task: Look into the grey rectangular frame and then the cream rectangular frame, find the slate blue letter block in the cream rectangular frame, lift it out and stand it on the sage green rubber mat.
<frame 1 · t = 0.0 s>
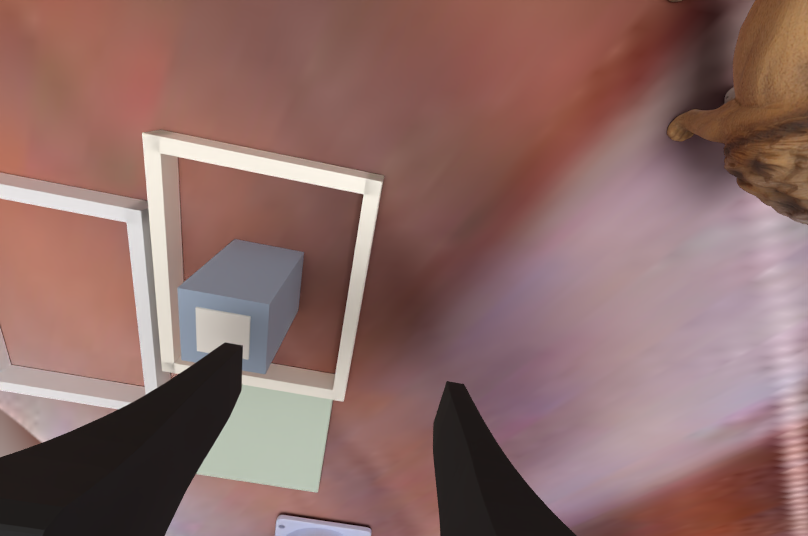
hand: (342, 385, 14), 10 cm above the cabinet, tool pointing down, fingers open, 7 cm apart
cream rectangular frame: (267, 276, 23), on the cabinet
green mat: (258, 430, 29), on the cabinet
grey rectangular frame: (71, 296, 24), on the cabinet
slate block: (248, 301, 21), in the cream rectangular frame
lion figurine: (718, 49, 18), on the cabinet
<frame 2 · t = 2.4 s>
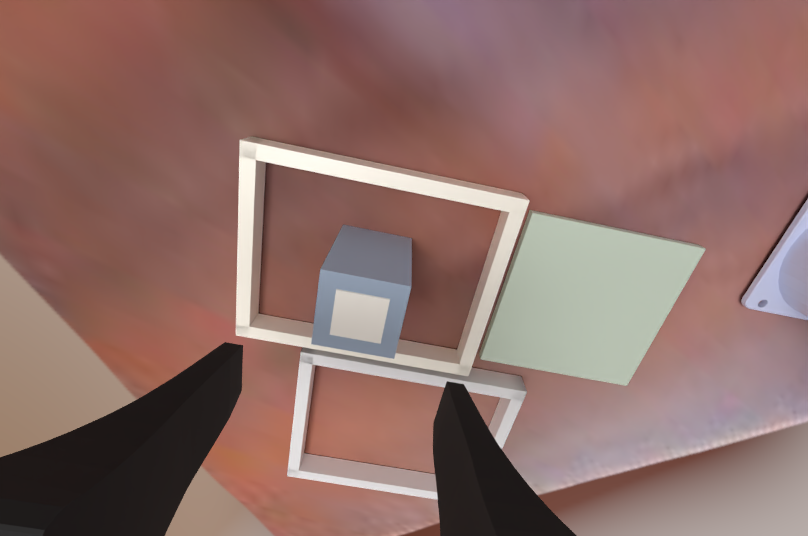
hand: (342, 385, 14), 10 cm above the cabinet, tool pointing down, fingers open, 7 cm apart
cream rectangular frame: (371, 262, 23), on the cabinet
green mat: (580, 303, 24), on the cabinet
grey rectangular frame: (399, 420, 28), on the cabinet
slate block: (366, 286, 20), in the cream rectangular frame
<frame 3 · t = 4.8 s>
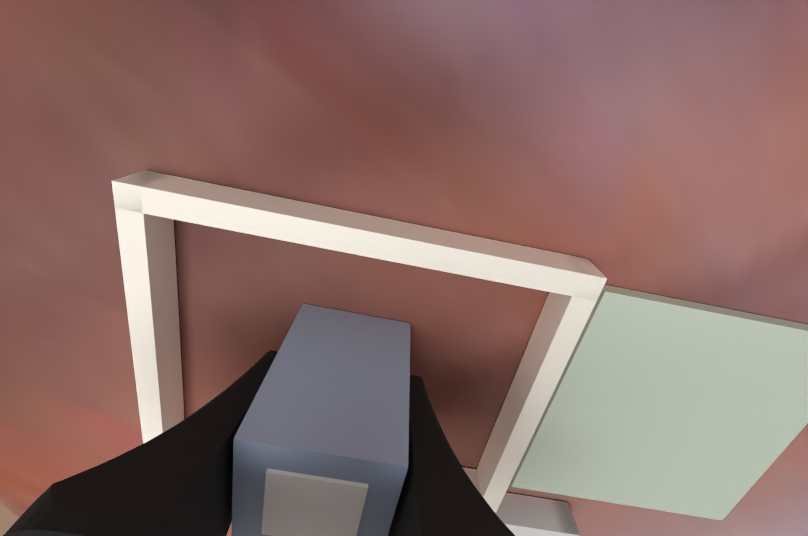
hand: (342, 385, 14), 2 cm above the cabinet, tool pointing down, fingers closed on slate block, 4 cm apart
cream rectangular frame: (349, 356, 15), on the cabinet
green mat: (663, 412, 16), on the cabinet
slate block: (335, 416, 12), in the cream rectangular frame, touching gripper
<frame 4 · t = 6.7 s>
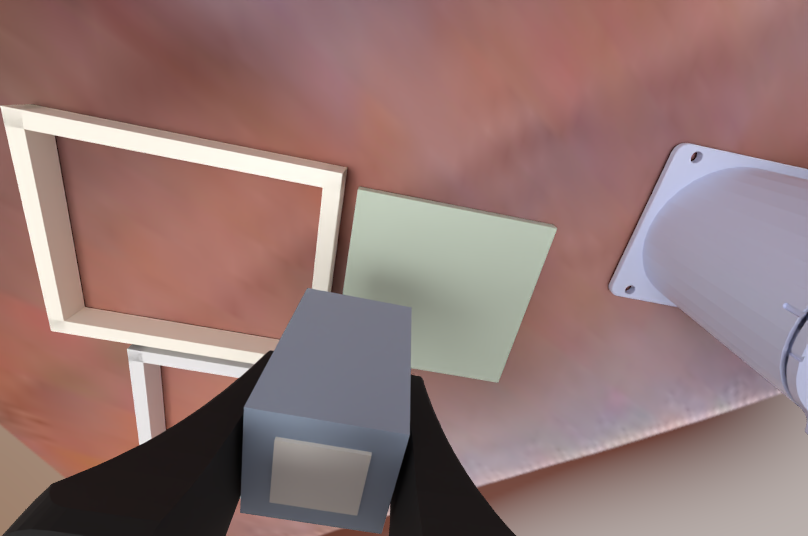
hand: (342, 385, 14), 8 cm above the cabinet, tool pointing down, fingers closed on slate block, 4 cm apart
cream rectangular frame: (197, 248, 21), on the cabinet
green mat: (435, 291, 22), on the cabinet
grey rectangular frame: (263, 423, 26), on the cabinet
slate block: (339, 395, 13), point 9 cm above the cabinet, touching gripper
when the fingers open (3 cm above the cabinet, at t = 8.8 s): slate block stays where it is, resting on green mat.
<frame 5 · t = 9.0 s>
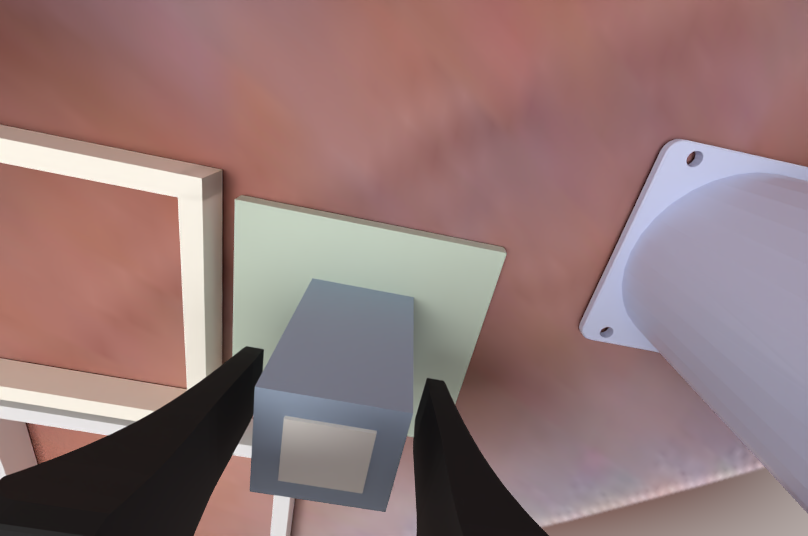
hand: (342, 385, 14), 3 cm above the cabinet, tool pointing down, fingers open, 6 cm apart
cream rectangular frame: (42, 273, 16), on the cabinet
green mat: (355, 330, 17), on the cabinet
grey rectangular frame: (160, 481, 21), on the cabinet
slate block: (343, 380, 13), on the green mat, point 4 cm above the cabinet
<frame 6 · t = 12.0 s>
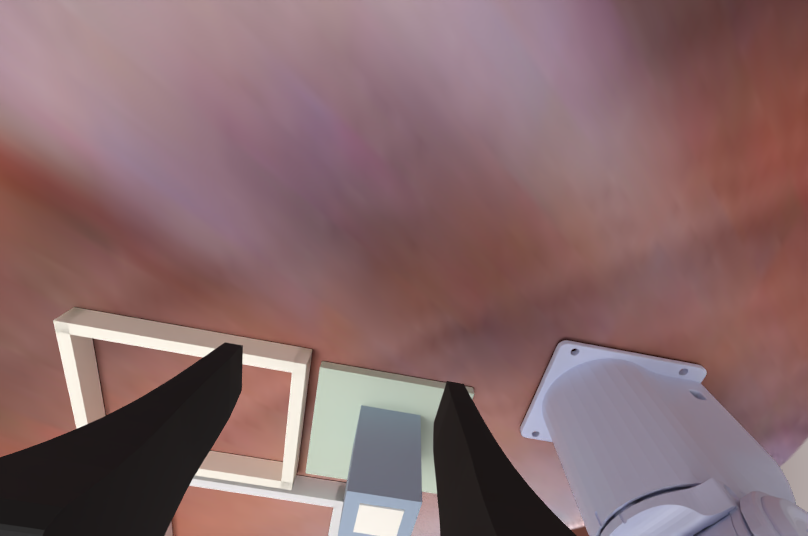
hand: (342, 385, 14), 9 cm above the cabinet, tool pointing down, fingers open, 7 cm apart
cream rectangular frame: (197, 398, 27), on the cabinet
green mat: (384, 429, 27), on the cabinet
grey rectangular frame: (250, 515, 32), on the cabinet
slate block: (382, 471, 24), on the green mat, point 4 cm above the cabinet
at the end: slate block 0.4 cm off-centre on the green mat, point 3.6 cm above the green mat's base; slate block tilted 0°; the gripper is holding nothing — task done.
